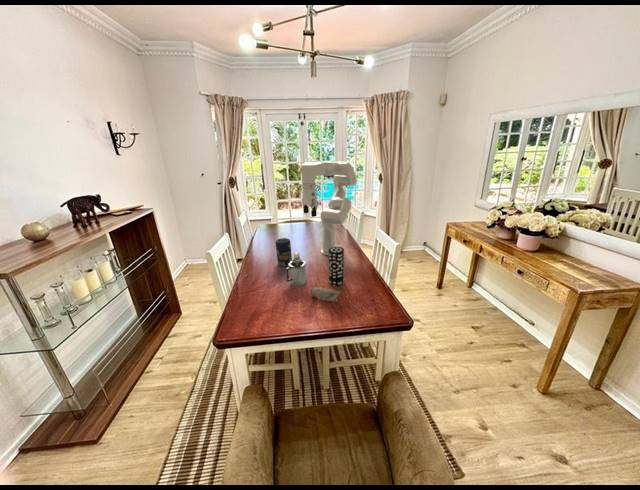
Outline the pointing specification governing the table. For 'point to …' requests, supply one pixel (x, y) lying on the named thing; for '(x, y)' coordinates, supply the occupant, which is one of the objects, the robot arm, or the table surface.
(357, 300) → the table surface
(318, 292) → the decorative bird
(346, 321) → the table surface
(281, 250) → the canister
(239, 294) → the table surface
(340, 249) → the spotted tube
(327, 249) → the robot arm
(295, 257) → the plunger
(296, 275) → the press carafe
